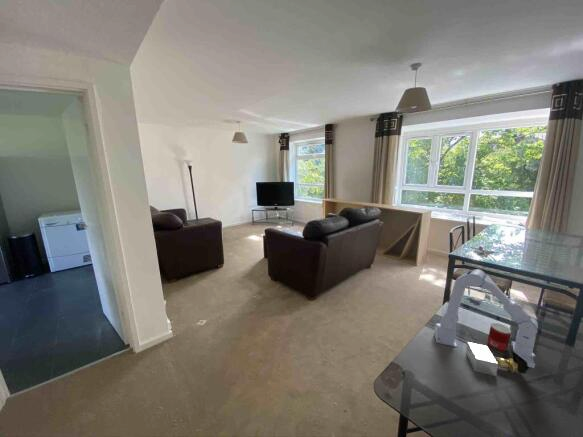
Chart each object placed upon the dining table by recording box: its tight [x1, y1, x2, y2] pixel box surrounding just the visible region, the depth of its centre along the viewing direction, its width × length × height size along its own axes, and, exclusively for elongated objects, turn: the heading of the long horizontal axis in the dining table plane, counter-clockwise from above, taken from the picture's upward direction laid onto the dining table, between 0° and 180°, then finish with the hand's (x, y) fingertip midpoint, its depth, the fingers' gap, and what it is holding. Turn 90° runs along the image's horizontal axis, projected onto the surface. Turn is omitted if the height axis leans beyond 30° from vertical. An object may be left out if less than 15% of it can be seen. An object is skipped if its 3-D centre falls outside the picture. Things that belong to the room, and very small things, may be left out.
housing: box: [465, 341, 499, 377], centre depth 112 cm, size 8×12×6 cm, turn 159°
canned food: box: [487, 322, 512, 352], centre depth 123 cm, size 8×8×11 cm
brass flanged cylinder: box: [494, 356, 518, 373], centre depth 108 cm, size 10×6×6 cm, turn 69°
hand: (519, 369), depth 107 cm, fingers closed on brass flanged cylinder, 3 cm apart
